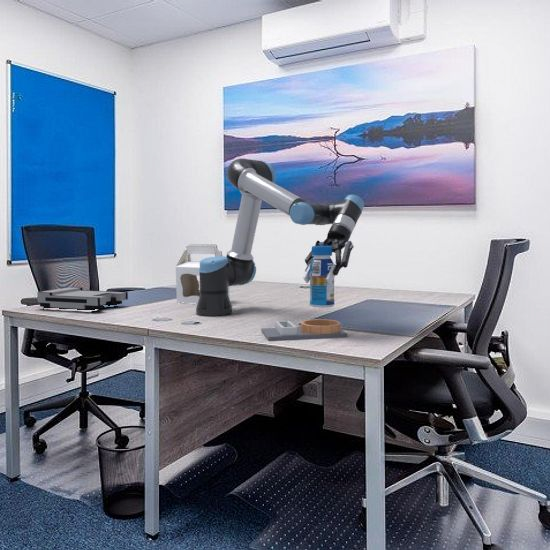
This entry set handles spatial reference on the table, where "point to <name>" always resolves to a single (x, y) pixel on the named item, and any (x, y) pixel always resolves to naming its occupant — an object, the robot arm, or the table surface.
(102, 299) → the office tray
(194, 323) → the table surface
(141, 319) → the table surface
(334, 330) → the socket board
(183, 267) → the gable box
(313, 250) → the beverage bottle
